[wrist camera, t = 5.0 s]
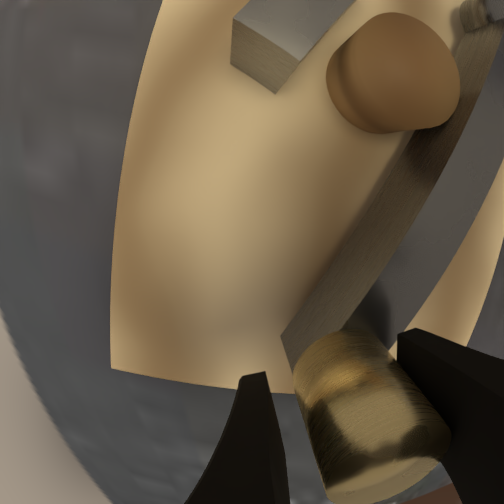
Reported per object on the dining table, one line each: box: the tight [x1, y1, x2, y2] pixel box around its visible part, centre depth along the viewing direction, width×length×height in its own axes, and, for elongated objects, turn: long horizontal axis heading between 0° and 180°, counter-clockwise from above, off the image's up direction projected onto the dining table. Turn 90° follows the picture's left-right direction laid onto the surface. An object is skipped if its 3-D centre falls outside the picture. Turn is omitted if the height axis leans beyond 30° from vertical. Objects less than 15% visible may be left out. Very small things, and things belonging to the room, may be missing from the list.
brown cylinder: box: [326, 12, 460, 134], centre depth 9 cm, size 4×4×3 cm
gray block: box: [230, 0, 356, 94], centre depth 8 cm, size 2×6×4 cm, turn 144°
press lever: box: [280, 0, 504, 504], centre depth 7 cm, size 19×4×7 cm, turn 147°
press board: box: [110, 0, 504, 394], centre depth 12 cm, size 18×22×1 cm
